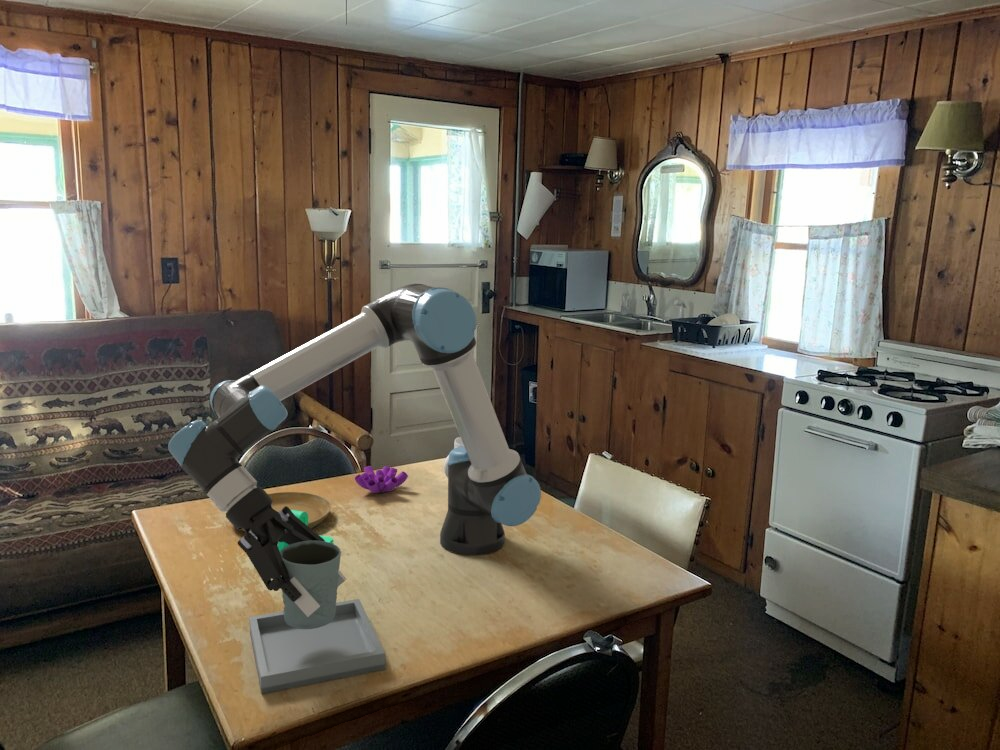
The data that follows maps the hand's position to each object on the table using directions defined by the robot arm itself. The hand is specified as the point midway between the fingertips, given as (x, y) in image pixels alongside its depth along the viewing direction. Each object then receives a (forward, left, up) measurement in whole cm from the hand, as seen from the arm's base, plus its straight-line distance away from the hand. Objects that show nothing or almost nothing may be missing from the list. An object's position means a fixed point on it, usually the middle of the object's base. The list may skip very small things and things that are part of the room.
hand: (328, 597), depth 133 cm
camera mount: (-2, -41, -11) cm, 43 cm away
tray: (+2, -2, -10) cm, 11 cm away
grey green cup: (+3, -2, -4) cm, 5 cm away
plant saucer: (0, -64, -11) cm, 65 cm away
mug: (-53, -73, -11) cm, 91 cm away
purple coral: (-28, -76, -11) cm, 81 cm away
